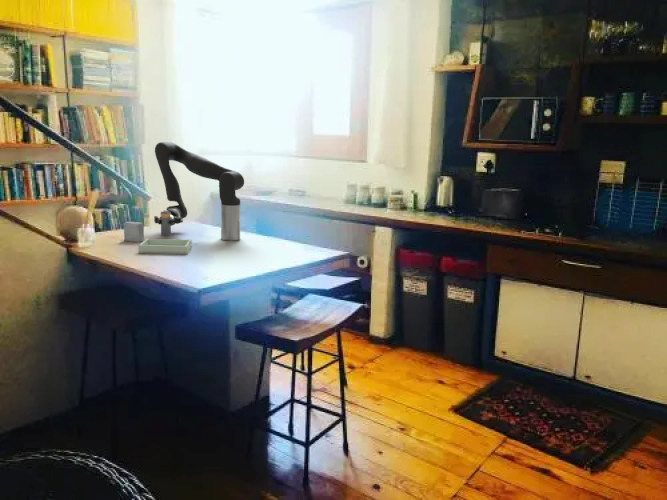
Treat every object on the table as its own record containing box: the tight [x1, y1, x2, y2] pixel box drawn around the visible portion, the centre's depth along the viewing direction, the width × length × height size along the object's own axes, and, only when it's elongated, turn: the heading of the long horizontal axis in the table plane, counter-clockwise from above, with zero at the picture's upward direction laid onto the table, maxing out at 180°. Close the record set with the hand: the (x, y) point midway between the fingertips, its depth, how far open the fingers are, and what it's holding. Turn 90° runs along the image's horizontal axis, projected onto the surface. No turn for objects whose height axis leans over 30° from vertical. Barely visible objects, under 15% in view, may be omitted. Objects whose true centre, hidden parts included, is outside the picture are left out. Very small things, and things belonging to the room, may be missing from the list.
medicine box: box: [123, 221, 145, 243], centre depth 263 cm, size 8×4×9 cm, turn 74°
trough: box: [138, 238, 193, 255], centre depth 247 cm, size 20×15×4 cm
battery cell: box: [160, 209, 172, 237], centre depth 261 cm, size 4×4×12 cm
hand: (165, 222), depth 259 cm, fingers closed on battery cell, 4 cm apart
